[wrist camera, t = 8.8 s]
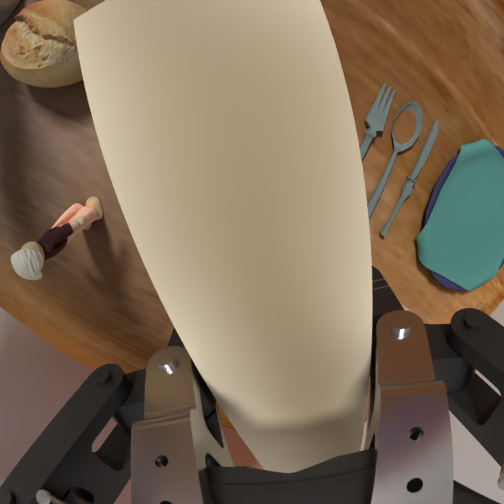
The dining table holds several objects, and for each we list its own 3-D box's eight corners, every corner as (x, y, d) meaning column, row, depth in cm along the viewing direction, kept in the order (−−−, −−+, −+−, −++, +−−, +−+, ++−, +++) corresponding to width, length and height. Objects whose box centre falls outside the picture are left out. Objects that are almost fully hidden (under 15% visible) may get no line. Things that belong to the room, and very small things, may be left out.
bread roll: (47, 3, 15) (7, -9, 8) (132, 20, 19) (94, -3, 12) (14, 70, 19) (-29, 72, 12) (88, 100, 22) (41, 101, 15)
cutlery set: (472, 298, 33) (480, 307, 31) (313, 220, 29) (318, 228, 27) (529, 190, 25) (538, 194, 23) (389, 56, 21) (399, 52, 19)
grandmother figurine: (93, 180, 26) (15, 224, 15) (115, 205, 28) (45, 262, 16) (61, 224, 29) (-5, 277, 17) (81, 246, 30) (20, 307, 19)
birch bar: (274, 410, 15) (276, 484, 10) (159, 59, 7) (73, 19, 3) (341, 398, 14) (355, 471, 10) (278, 26, 7) (295, -55, 2)
